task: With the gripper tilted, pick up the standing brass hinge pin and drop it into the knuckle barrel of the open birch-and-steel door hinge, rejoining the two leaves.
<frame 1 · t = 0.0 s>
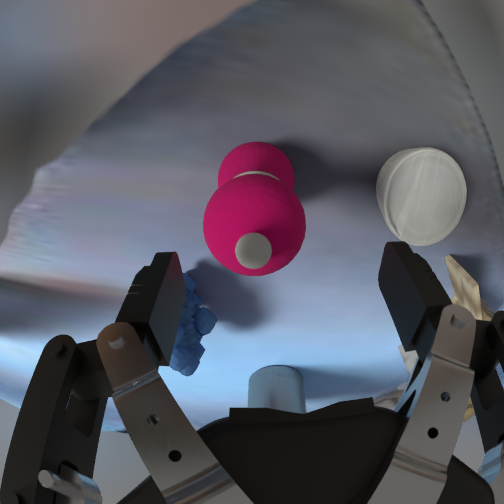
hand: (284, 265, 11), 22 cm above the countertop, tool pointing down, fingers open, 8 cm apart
ramekin: (407, 185, 32), on the countertop
hinge pin: (440, 361, 46), on the countertop
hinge: (459, 310, 40), on the countertop
pepper mill: (256, 169, 32), on the countertop
grapes: (198, 292, 39), on the countertop
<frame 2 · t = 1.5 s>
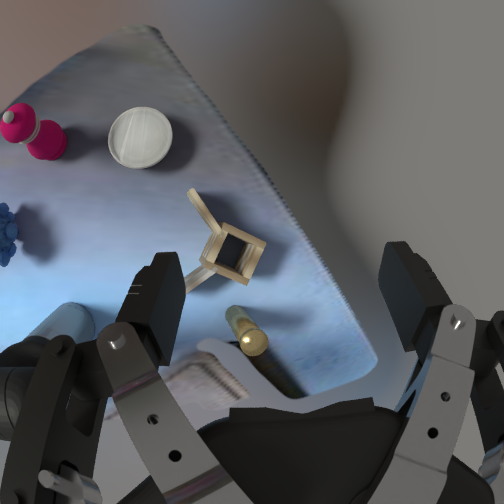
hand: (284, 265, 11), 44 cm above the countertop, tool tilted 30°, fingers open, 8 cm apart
ramekin: (142, 143, 49), on the countertop
hinge pin: (235, 315, 58), on the countertop
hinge: (226, 249, 56), on the countertop
pepper mill: (53, 145, 44), on the countertop
grapes: (19, 231, 44), on the countertop
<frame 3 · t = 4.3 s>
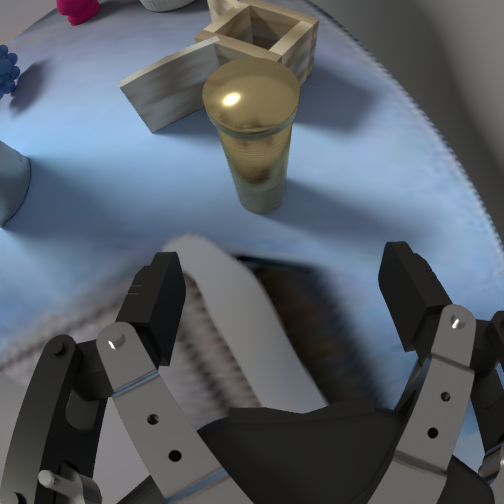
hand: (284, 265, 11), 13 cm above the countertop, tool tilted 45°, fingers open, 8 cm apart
hinge pin: (261, 192, 26), on the countertop
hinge: (261, 80, 28), on the countertop
pepper mill: (86, 15, 33), on the countertop
grapes: (17, 87, 32), on the countertop
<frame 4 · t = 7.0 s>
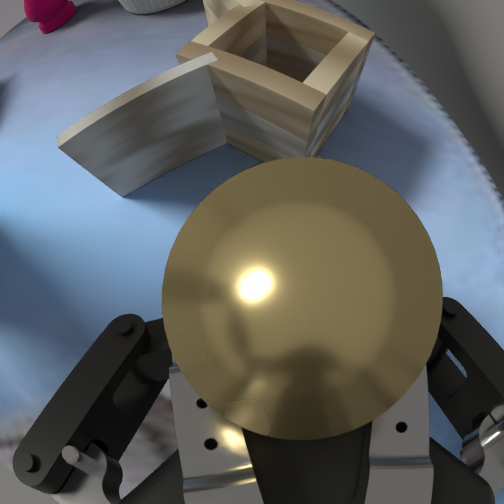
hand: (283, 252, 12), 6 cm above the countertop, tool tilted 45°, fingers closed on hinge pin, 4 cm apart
hinge pin: (279, 301, 18), on the countertop, touching gripper
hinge: (278, 116, 20), on the countertop
pepper mill: (59, 21, 26), on the countertop
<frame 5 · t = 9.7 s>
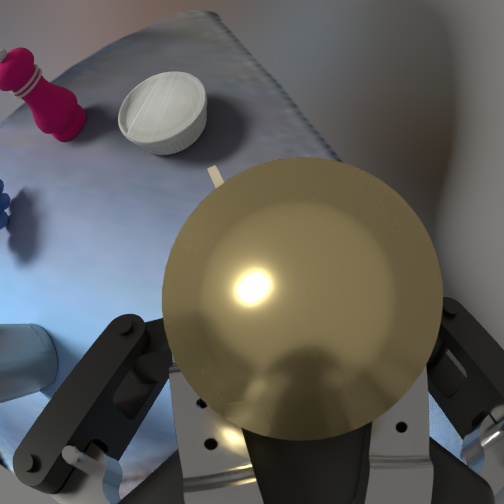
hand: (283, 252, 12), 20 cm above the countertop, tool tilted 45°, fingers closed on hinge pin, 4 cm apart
ramekin: (172, 126, 36), on the countertop
hinge pin: (278, 301, 18), point 13 cm above the countertop, touching gripper
pepper mill: (71, 125, 37), on the countertop
grapes: (11, 220, 35), on the countertop
when the fingers open (12 cm above the countertop, at t = 12.2 s): hinge pin drops 5 cm, resting in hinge.
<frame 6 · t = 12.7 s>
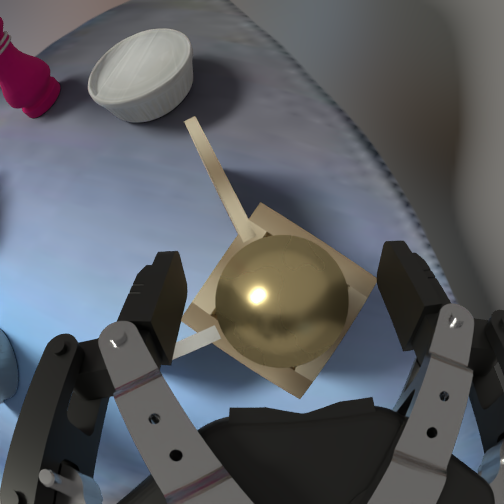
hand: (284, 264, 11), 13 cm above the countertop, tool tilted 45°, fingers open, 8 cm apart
ramekin: (152, 92, 28), on the countertop
hinge pin: (276, 303, 23), resting in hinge
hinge: (276, 301, 23), on the countertop
pepper mill: (44, 100, 29), on the countertop
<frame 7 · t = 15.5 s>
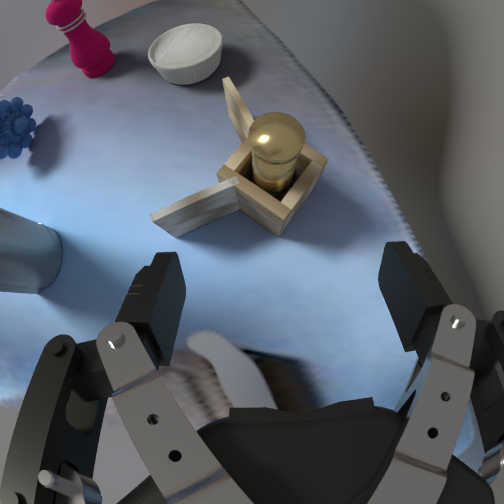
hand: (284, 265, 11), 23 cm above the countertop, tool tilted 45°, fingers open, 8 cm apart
ramekin: (190, 66, 40), on the countertop
hinge pin: (270, 194, 36), resting in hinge
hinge: (270, 192, 36), on the countertop
pepper mill: (100, 66, 41), on the countertop
grapes: (34, 142, 39), on the countertop
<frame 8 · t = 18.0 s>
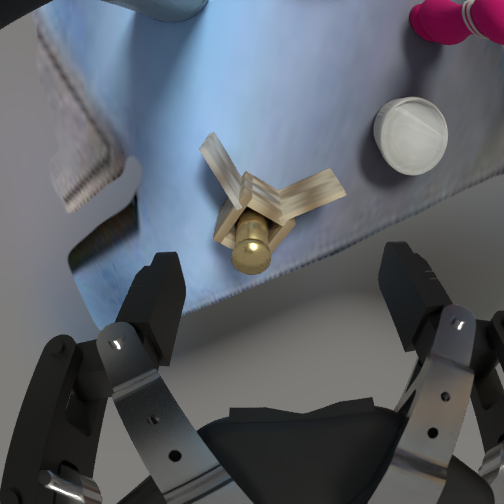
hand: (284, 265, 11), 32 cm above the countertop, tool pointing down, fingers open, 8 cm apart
ramekin: (400, 128, 37), on the countertop
hinge pin: (253, 204, 45), resting in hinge
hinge: (254, 204, 45), on the countertop
pepper mill: (426, 22, 27), on the countertop
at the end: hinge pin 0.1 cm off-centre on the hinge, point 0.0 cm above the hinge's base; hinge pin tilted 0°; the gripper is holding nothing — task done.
